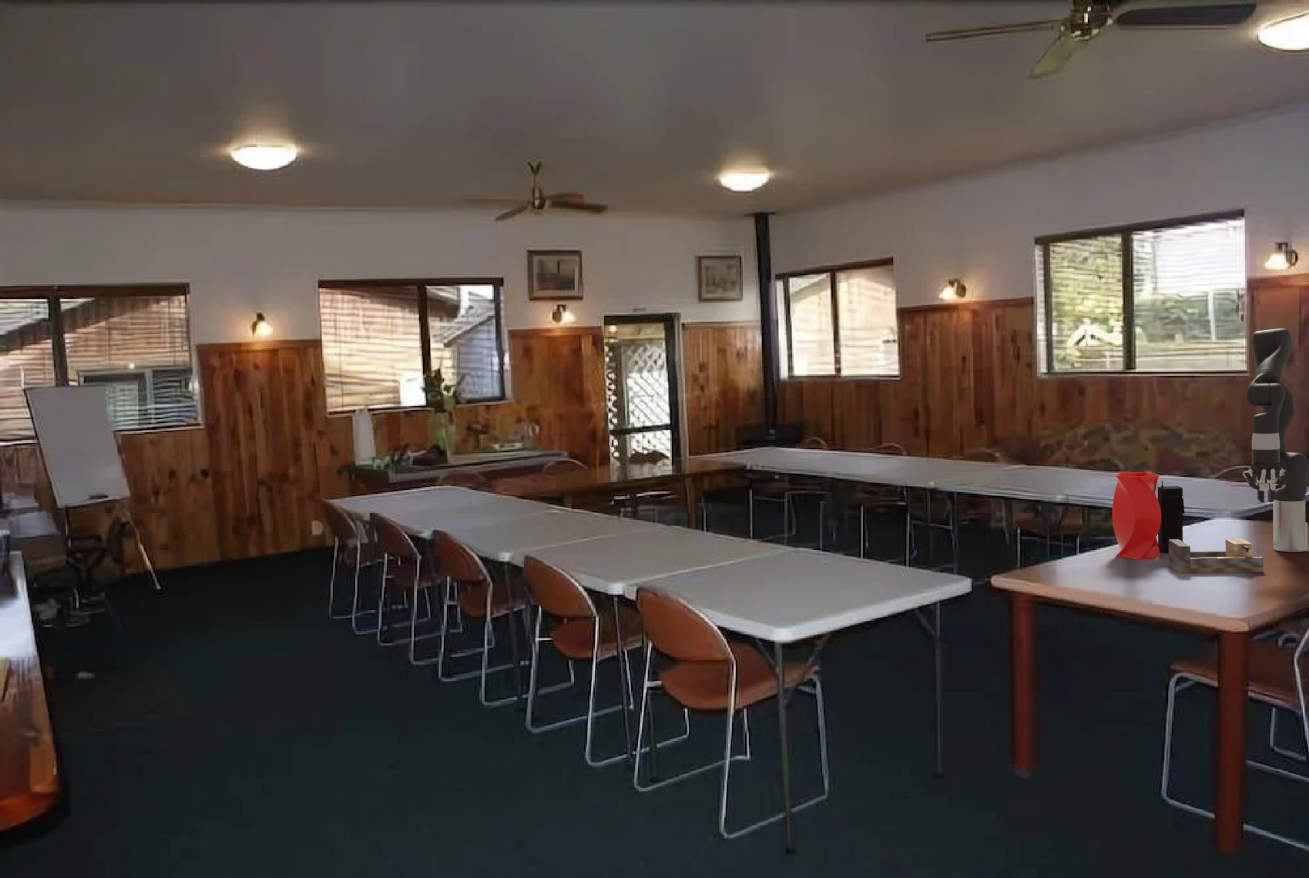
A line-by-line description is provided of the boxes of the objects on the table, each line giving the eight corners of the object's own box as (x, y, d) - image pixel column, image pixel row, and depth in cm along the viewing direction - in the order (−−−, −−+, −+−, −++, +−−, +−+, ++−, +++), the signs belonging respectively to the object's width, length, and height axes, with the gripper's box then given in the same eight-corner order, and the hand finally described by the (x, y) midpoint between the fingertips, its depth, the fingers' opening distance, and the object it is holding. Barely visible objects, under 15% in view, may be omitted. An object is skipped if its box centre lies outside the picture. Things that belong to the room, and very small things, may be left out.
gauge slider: (1242, 559, 334) (1242, 538, 333) (1256, 567, 323) (1256, 545, 322) (1225, 560, 335) (1225, 539, 334) (1238, 567, 324) (1238, 546, 323)
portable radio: (1180, 549, 363) (1179, 478, 361) (1187, 553, 357) (1186, 480, 355) (1156, 550, 364) (1155, 479, 362) (1163, 553, 358) (1162, 481, 356)
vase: (1164, 559, 349) (1163, 476, 347) (1118, 559, 352) (1116, 477, 350) (1152, 550, 364) (1151, 471, 362) (1108, 551, 367) (1106, 472, 364)
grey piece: (1249, 564, 335) (1248, 538, 335) (1263, 572, 324) (1263, 545, 323) (1168, 565, 340) (1168, 539, 339) (1180, 573, 328) (1179, 546, 328)
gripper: (1285, 445, 328) (1285, 499, 330) (1237, 446, 331) (1237, 501, 332) (1294, 447, 321) (1295, 503, 322) (1246, 449, 324) (1246, 504, 325)
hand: (1266, 501), depth 327 cm, fingers closed
